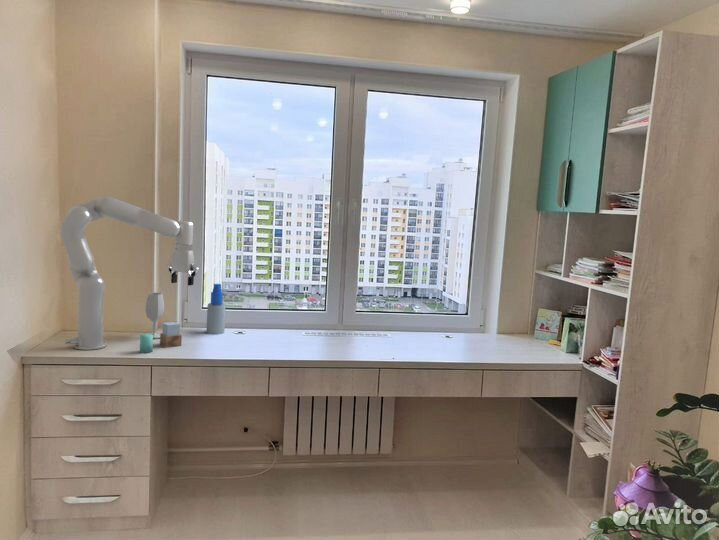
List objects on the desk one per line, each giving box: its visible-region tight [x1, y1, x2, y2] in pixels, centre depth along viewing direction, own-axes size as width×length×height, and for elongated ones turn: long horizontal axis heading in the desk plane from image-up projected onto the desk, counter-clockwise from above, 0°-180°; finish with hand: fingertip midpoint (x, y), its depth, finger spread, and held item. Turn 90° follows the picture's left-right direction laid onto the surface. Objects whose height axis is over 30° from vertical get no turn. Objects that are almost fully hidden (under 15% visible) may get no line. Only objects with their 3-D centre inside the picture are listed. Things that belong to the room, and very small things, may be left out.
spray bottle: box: [205, 283, 226, 335], centre depth 258 cm, size 9×9×25 cm
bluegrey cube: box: [161, 321, 181, 336], centre depth 228 cm, size 6×6×5 cm
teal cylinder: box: [139, 333, 154, 354], centre depth 216 cm, size 5×5×7 cm
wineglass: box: [145, 292, 165, 340], centre depth 240 cm, size 9×9×21 cm
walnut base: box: [159, 333, 183, 348], centre depth 229 cm, size 7×7×5 cm
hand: (182, 284), depth 237 cm, fingers open, 9 cm apart
